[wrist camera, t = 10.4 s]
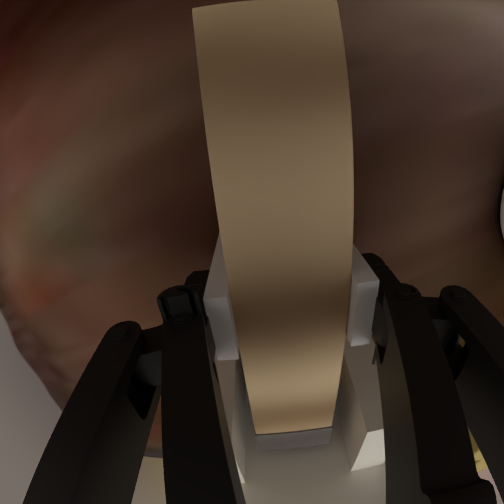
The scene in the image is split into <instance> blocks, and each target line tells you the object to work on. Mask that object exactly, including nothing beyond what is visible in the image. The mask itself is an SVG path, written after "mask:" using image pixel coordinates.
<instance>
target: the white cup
mask: <svg viewBox="0 0 504 504" xmlns="http://www.w3.org/2000/svg"><path fill="white" fill-rule="evenodd" d="M500 223H501V231H502V235H503V238H504V189H503V193H502V199H501V207H500Z"/></svg>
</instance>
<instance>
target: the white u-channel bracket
mask: <svg viewBox="0 0 504 504" xmlns="http://www.w3.org/2000/svg"><path fill="white" fill-rule="evenodd" d="M374 350H375V343H374V341H373V339H372V337H371V341H370V343H369V344H364V345H358V346H352V347H351V346H350V343H349V340H348V338H347V335H346V336H345V345H344V352H343V360H342V367H341V374H340V380H339V387H338V393H337V399H336V405H335V410H334V415H333V421H332V427H333V428H332V433H331V438H330V442H329V444H322V445H315V446H308V447H300V448H290V449H279V450H266V451H258V447H257V443H256V438H255V427H254V422H253V417H252V412H251V407H250V402H249V397H248V392H247V387H246V382H245V376H244V371H243V366H242V360H241V355H240V349H239V359H235V360H218V359H217V355H216V351H215V359H214V361H215V364H216V368H217V373H218V378H219V384H220V389H221V394H222V399H223V404H224V409H225V414H226V419H227V424H228V429H229V433H230V438H231V443H232V447H233V452H234V456H235V460H236V465H237V469H238V473H239V477H240V481H241V485H242V489H243V493H244V497H245V501H246V504H386V471H385V446H384V430H383V417H382V406H381V396H380V387H379V379H378V371H377V363H376V360H375V364H374V365H372V359H373V354H374Z"/></svg>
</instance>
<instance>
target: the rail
mask: <svg viewBox="0 0 504 504" xmlns="http://www.w3.org/2000/svg"><path fill="white" fill-rule="evenodd" d="M192 14H193V25H194V35H195V45H196V54H197V64H198V73H199V81H200V90H201V99H202V107H203V115H204V123H205V131H206V139H207V146H208V154H209V161H210V168H211V176H212V183H213V190H214V197H215V204H216V210H217V217H218V224H219V230H220V237H221V243H222V250H223V256H224V262H225V268H226V274H227V280H228V286H229V292H230V298H231V304H232V310H233V316H234V321H235V327H236V332H237V338H238V343H239V349H240V355H241V360H242V366H243V371H244V376H245V382H246V387H247V392H248V397H249V402H250V407H251V412H252V417H253V422H254V427H255V438H256V443H257V447H258V451H266V450H279V449H290V448H300V447H308V446H315V445H322V444H329V442H330V438H331V433H332V428H333V427H332V421H333V415H334V410H335V405H336V399H337V393H338V387H339V380H340V374H341V367H342V360H343V352H344V345H345V336H346V327H347V318H348V308H349V296H350V283H351V268H352V250H353V220H354V166H353V137H352V119H351V105H350V93H349V82H348V72H347V63H346V55H345V47H344V40H343V33H342V27H341V20H340V14H339V9H338V3H337V0H251V1H240V2H231V3H223V4H215V5H209V6H202V7H197V8H192Z"/></svg>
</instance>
